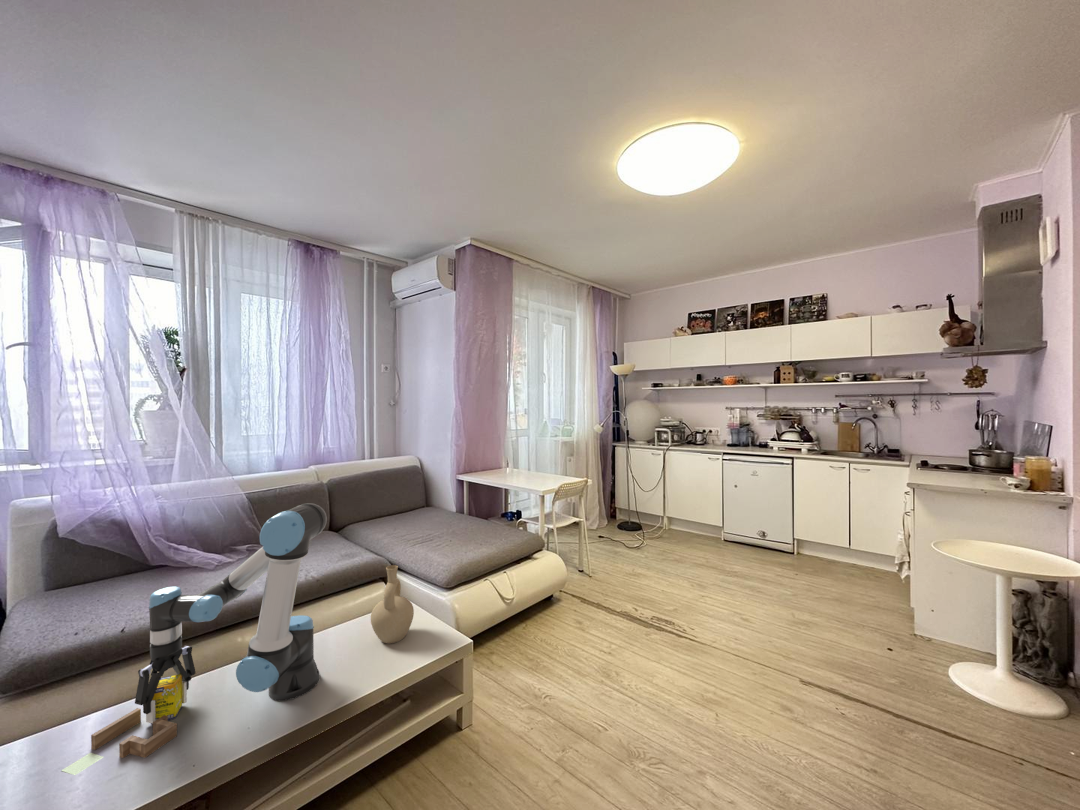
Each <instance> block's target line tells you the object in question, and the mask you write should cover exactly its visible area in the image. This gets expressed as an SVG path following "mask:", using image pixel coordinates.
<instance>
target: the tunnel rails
mask: <svg viewBox="0 0 1080 810" xmlns="http://www.w3.org/2000/svg"><path fill="white" fill-rule="evenodd" d="M141 716H142V711H141V708H140V707H139V708H138V707H137V708H134V709H133V710H131V711H129V712H128V713H127V714H125V715H123V716H121V717H119V718H117V719H116V720H114V721H113V722H111V723H109V724H107V725H105V727H102V728H100V729H99V730H96V731H95V732H94V733H92V734H91V735H90V736H91V737H90V739H91V740H90V743H91V747H90V748H91V750H93V751H97V750H98V749H99V748H101V747H103V746H104V745H106V744H107V743H109V742H111V741H112V740H114V739H115V738H118V737H119V736H121V735H122V734H123V733H125V732H127V731H128V730H131V729H132V728H133V727H135V726H137V725H138V724H140V723H142V717H141ZM176 737H178V723H176V722H173V721H170V720H168V716H166V715H163V716H162V717H160V718H159V719H157V720H156V721H154V722H153V724H152V736H150V737H149V738H144V737H140V736H137V735H133V734H131V735H130V736H129V737H127V738H126V739H124V740H123V741H121V742H119V745H118V746H119V748H118V749H119V750H118V753H119V754H118V756H119V758H122V759H124V758H126V757H127V756H128V755H132V756H136V757H141V758H144V759H145V758H147V757H148V756H151V754H154V752H156V751H157V750H159V749H161V748H162V747H164V746H165V745H167V743H169V742H170V741H172V740H173V739H175V738H176Z"/></svg>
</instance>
